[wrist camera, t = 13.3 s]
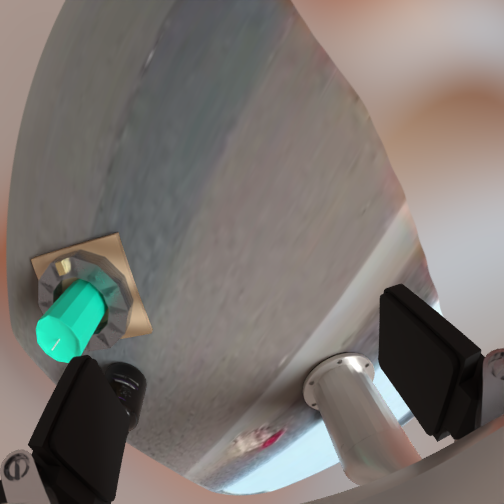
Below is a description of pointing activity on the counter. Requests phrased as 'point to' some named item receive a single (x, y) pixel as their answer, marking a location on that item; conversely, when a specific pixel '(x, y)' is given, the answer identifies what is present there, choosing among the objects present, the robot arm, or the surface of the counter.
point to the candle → (71, 321)
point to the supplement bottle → (128, 389)
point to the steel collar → (103, 279)
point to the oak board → (116, 255)
